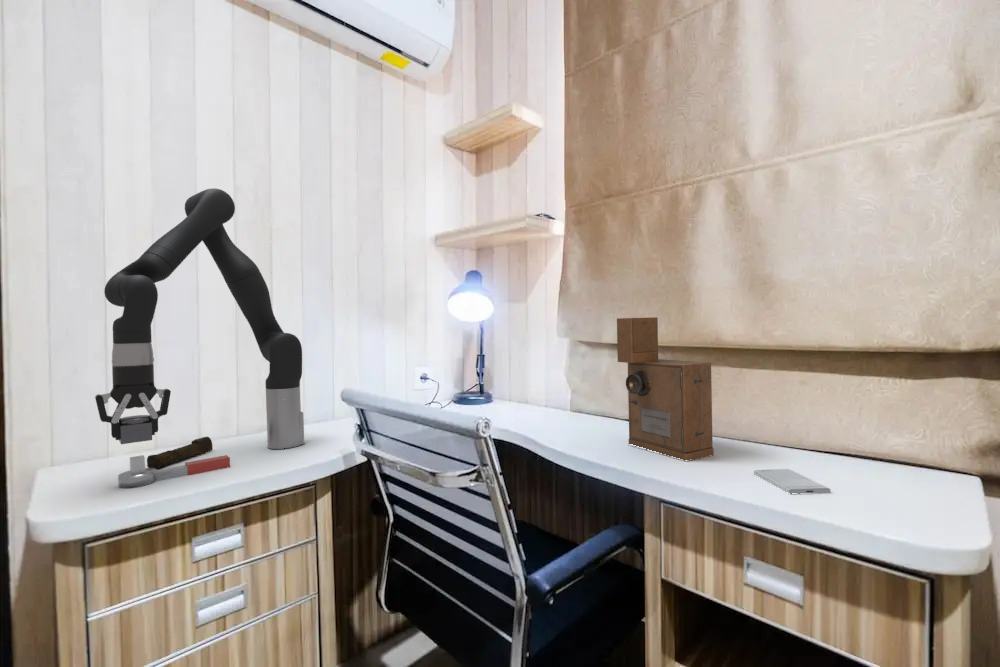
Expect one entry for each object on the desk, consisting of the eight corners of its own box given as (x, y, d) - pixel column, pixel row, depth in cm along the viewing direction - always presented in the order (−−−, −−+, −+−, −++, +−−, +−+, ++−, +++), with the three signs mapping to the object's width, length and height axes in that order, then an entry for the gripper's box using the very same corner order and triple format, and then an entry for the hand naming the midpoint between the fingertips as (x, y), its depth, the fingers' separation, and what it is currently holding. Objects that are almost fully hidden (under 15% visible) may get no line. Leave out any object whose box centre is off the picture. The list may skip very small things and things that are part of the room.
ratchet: (224, 463, 126) (224, 440, 126) (232, 468, 121) (231, 444, 121) (117, 483, 111) (116, 457, 111) (120, 490, 106) (119, 463, 106)
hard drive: (753, 469, 106) (789, 488, 94) (790, 468, 106) (830, 487, 94) (753, 477, 106) (789, 497, 94) (790, 476, 106) (830, 495, 94)
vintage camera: (617, 447, 132) (615, 318, 131) (655, 440, 139) (652, 317, 138) (674, 464, 115) (671, 316, 115) (713, 455, 122) (711, 315, 121)
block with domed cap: (149, 436, 115) (148, 414, 115) (152, 440, 111) (152, 417, 110) (118, 440, 111) (117, 417, 111) (120, 444, 107) (119, 420, 107)
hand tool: (158, 471, 121) (157, 452, 121) (145, 470, 122) (145, 451, 122) (220, 451, 140) (219, 435, 139) (208, 451, 141) (208, 435, 140)
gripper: (168, 360, 118) (170, 429, 118) (91, 364, 109) (93, 439, 109) (173, 362, 113) (175, 434, 113) (92, 366, 103) (95, 445, 103)
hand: (135, 436), depth 111 cm, fingers closed on block with domed cap, 5 cm apart
